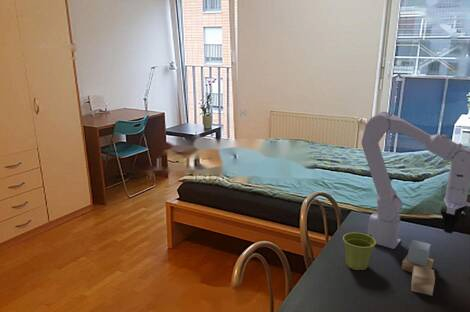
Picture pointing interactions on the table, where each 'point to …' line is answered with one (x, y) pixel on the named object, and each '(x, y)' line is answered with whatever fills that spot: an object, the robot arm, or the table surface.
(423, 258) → the grey cube
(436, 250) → the table surface
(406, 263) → the oak block
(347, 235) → the plant pot
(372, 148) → the robot arm
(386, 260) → the table surface
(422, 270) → the beech cube
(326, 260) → the table surface
